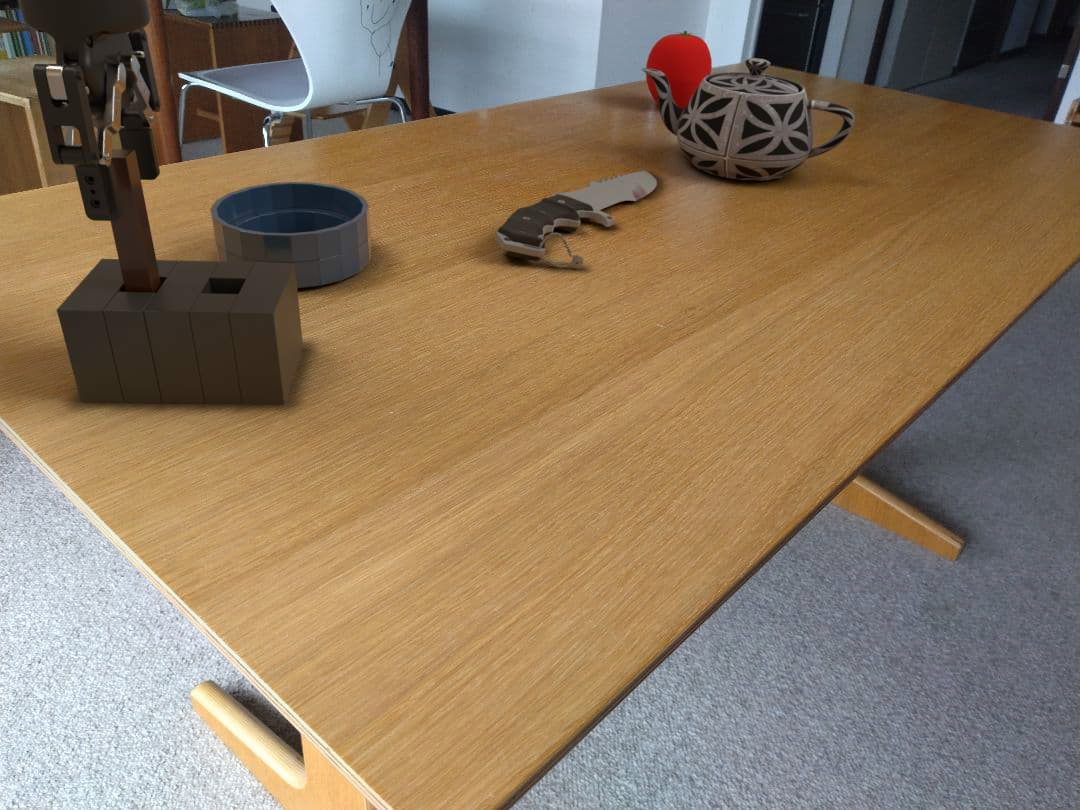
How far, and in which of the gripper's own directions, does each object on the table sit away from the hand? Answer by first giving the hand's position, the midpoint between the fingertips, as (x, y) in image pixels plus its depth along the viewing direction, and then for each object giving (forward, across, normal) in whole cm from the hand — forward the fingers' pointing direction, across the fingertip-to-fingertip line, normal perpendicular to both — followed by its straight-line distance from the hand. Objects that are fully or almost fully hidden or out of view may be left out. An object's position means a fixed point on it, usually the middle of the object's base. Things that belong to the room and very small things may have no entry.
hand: (126, 197), depth 63 cm
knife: (+15, -39, +39) cm, 57 cm away
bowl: (+15, -23, +7) cm, 28 cm away
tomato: (+15, -94, +61) cm, 113 cm away
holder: (+15, 0, +3) cm, 15 cm away
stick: (+15, 0, 0) cm, 15 cm away
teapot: (+15, -61, +63) cm, 89 cm away
